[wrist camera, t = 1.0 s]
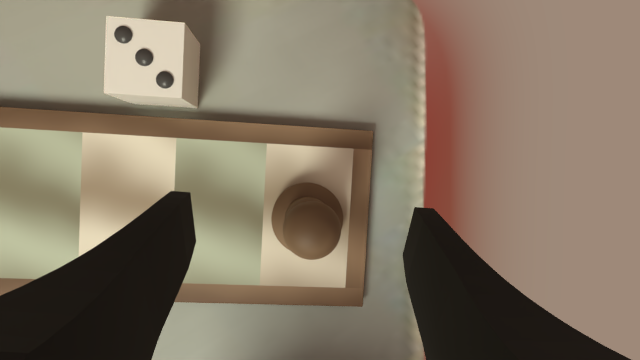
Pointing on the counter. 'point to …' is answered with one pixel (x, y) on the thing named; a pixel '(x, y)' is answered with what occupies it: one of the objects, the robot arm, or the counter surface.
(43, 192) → the game board
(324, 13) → the counter surface
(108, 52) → the die
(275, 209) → the pawn
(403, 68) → the counter surface
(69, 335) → the robot arm
